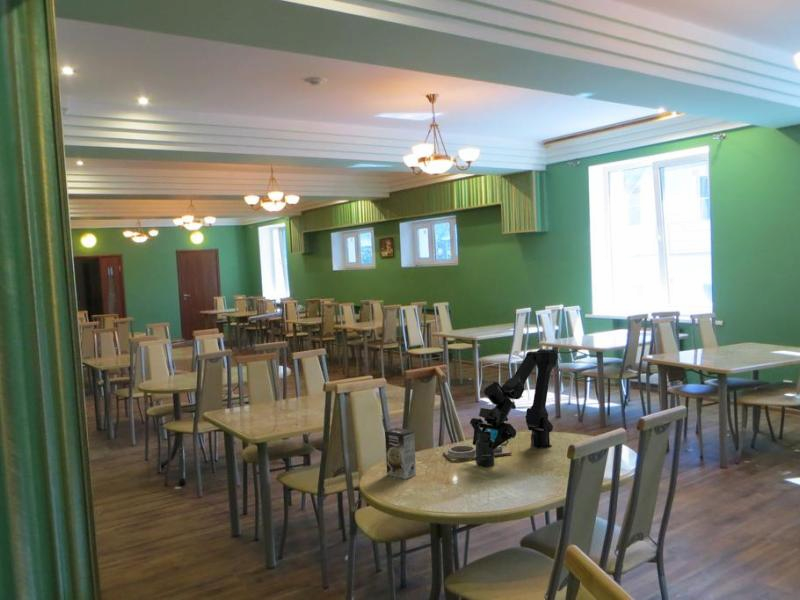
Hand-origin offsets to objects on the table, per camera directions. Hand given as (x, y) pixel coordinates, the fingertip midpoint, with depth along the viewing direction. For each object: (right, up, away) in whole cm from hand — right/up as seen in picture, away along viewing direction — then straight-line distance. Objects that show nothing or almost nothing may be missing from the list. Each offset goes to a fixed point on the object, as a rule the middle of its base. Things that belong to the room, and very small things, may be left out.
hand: (482, 446), depth 245 cm
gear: (+10, -6, +32) cm, 34 cm away
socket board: (0, -6, +15) cm, 16 cm away
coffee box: (-30, -9, -6) cm, 32 cm away
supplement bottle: (+1, -7, +1) cm, 7 cm away
